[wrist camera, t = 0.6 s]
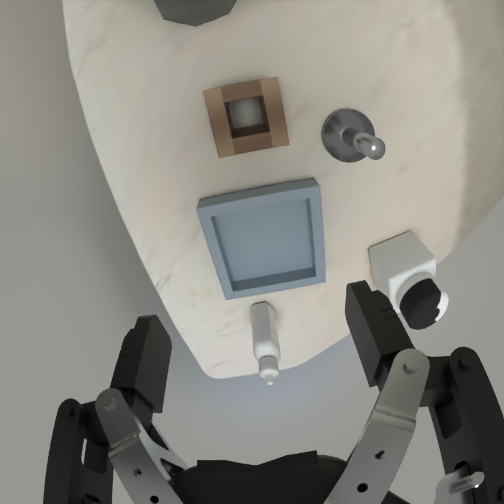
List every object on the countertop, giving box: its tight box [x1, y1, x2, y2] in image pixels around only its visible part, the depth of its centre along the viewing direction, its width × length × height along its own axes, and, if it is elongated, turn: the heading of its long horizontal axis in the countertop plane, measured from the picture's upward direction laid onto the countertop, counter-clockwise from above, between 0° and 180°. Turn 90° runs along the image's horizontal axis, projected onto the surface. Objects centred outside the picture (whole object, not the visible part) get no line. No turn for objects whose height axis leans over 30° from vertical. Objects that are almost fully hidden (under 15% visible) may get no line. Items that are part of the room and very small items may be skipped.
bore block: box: [203, 77, 289, 158], centre depth 23 cm, size 6×6×6 cm
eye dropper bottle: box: [251, 302, 280, 385], centre depth 36 cm, size 4×6×12 cm
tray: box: [196, 178, 326, 300], centre depth 32 cm, size 13×13×3 cm
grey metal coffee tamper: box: [322, 109, 385, 163], centre depth 24 cm, size 6×6×7 cm
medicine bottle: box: [368, 231, 448, 330], centre depth 31 cm, size 7×7×12 cm
